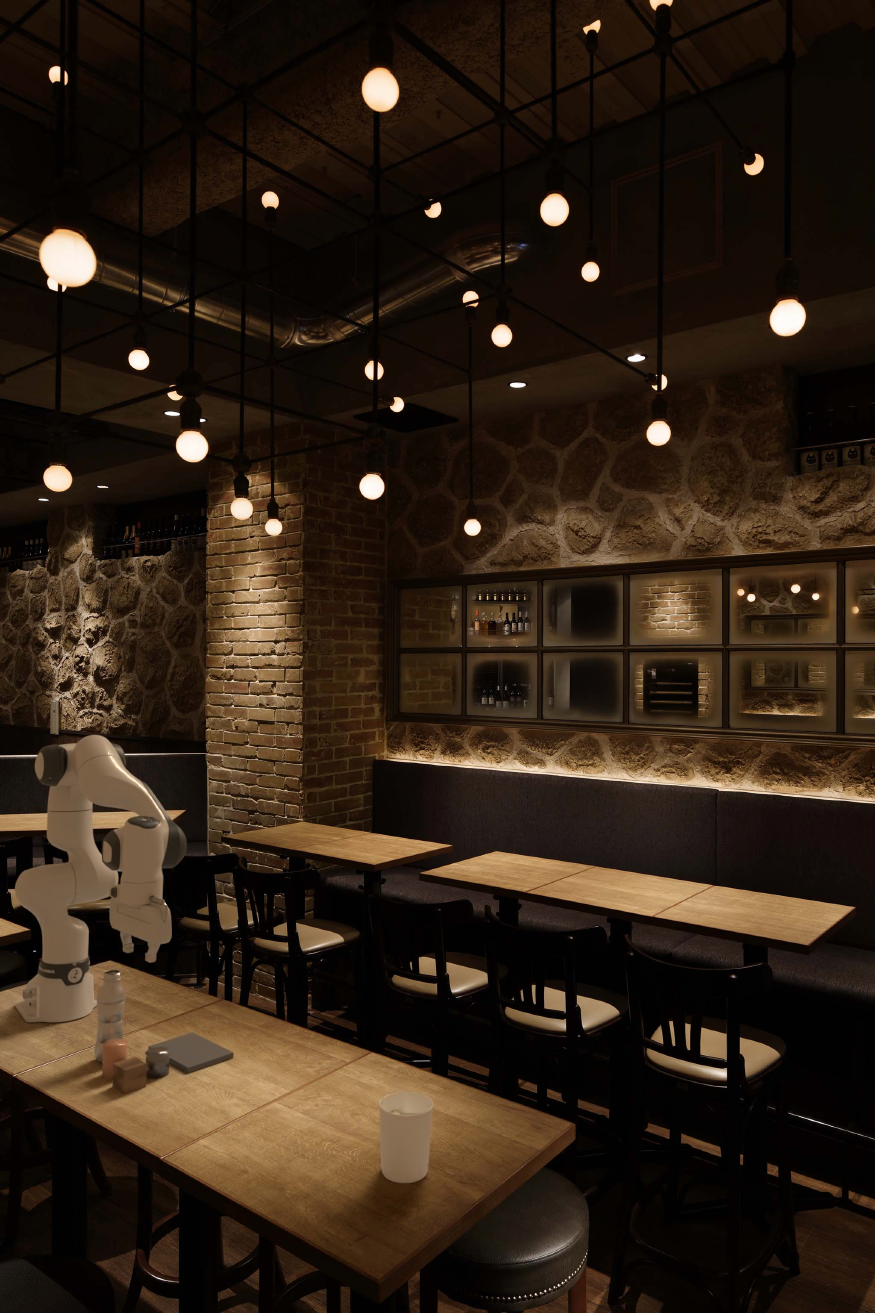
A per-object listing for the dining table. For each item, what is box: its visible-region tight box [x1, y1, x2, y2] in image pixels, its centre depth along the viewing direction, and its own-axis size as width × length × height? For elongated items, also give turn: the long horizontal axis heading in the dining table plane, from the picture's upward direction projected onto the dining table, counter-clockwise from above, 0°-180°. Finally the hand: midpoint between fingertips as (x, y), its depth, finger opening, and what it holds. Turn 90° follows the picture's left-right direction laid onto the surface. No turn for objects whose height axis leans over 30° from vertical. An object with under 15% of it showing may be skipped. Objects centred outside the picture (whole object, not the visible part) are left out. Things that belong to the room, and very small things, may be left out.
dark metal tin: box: [145, 1047, 170, 1080], centre depth 197 cm, size 5×5×5 cm
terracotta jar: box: [101, 1038, 128, 1081], centre depth 196 cm, size 5×5×7 cm
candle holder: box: [378, 1090, 434, 1184], centre depth 160 cm, size 10×10×12 cm
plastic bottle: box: [93, 969, 127, 1063], centre depth 204 cm, size 6×7×20 cm
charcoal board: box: [147, 1032, 235, 1074], centre depth 208 cm, size 17×12×1 cm
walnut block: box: [112, 1056, 147, 1095], centre depth 190 cm, size 5×5×5 cm
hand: (139, 956), depth 193 cm, fingers open, 8 cm apart
